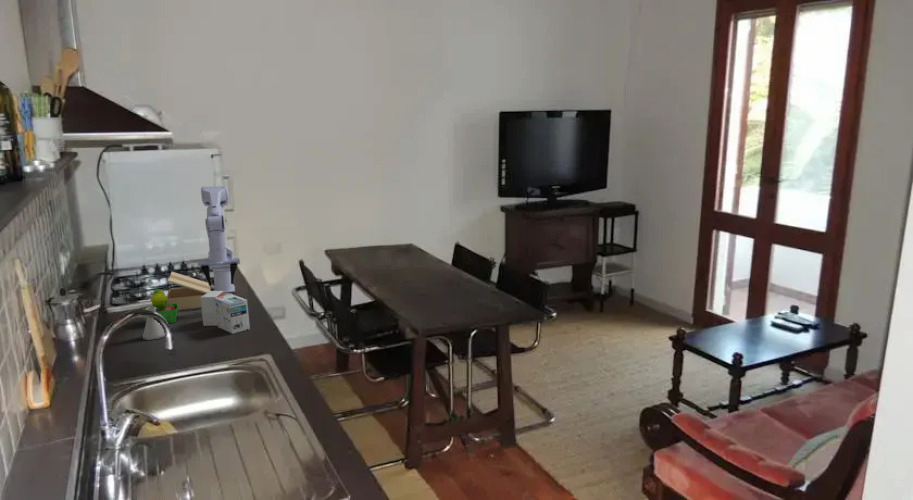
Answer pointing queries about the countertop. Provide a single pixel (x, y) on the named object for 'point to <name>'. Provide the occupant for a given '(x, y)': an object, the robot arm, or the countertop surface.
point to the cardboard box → (185, 298)
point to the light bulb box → (232, 313)
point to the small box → (210, 307)
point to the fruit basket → (164, 306)
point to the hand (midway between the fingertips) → (221, 284)
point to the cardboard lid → (189, 282)
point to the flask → (152, 328)
